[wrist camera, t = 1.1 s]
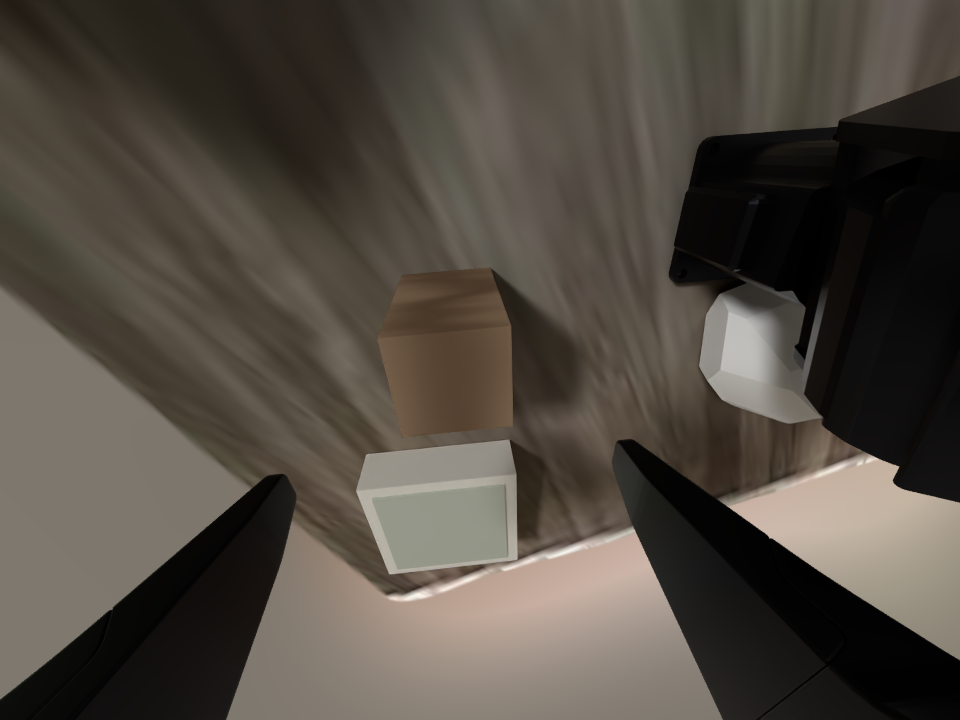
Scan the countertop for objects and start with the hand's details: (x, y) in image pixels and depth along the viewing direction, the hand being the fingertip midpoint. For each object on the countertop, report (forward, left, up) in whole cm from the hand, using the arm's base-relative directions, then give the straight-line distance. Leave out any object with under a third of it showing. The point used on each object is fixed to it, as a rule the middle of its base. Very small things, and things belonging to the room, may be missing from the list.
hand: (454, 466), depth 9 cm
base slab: (+2, +15, -11) cm, 19 cm away
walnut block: (0, 0, -11) cm, 11 cm away
